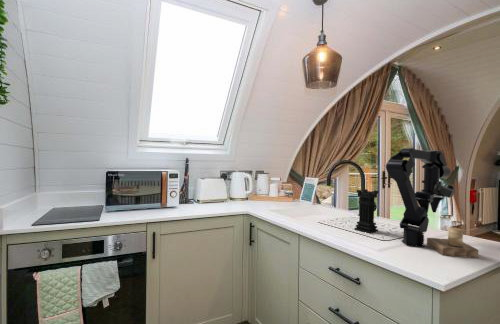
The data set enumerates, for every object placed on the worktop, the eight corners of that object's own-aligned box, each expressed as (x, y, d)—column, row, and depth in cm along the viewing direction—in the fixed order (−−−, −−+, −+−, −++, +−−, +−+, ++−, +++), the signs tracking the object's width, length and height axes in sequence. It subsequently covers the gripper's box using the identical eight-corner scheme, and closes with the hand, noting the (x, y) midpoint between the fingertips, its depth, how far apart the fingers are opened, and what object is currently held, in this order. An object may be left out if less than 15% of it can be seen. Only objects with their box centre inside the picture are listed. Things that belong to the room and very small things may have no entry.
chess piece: (369, 233, 127) (370, 192, 127) (354, 229, 134) (355, 190, 133) (378, 231, 132) (379, 190, 131) (363, 227, 138) (364, 189, 138)
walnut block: (442, 255, 101) (442, 247, 101) (426, 244, 113) (427, 237, 113) (478, 257, 99) (478, 249, 99) (458, 246, 111) (458, 239, 111)
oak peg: (451, 253, 101) (452, 230, 101) (445, 249, 106) (446, 227, 106) (464, 254, 101) (465, 231, 100) (457, 250, 105) (458, 227, 105)
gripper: (444, 181, 106) (443, 220, 107) (461, 179, 117) (459, 214, 117) (414, 178, 115) (413, 214, 116) (432, 177, 126) (430, 210, 126)
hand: (430, 213), depth 119 cm, fingers open, 9 cm apart
